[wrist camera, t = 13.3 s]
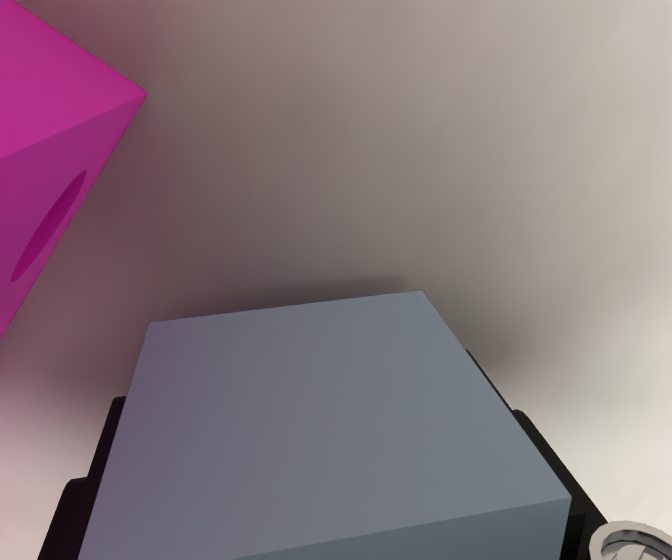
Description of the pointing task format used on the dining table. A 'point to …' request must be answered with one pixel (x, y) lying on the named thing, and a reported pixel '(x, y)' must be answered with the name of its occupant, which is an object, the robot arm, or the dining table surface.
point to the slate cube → (320, 444)
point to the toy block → (49, 141)
